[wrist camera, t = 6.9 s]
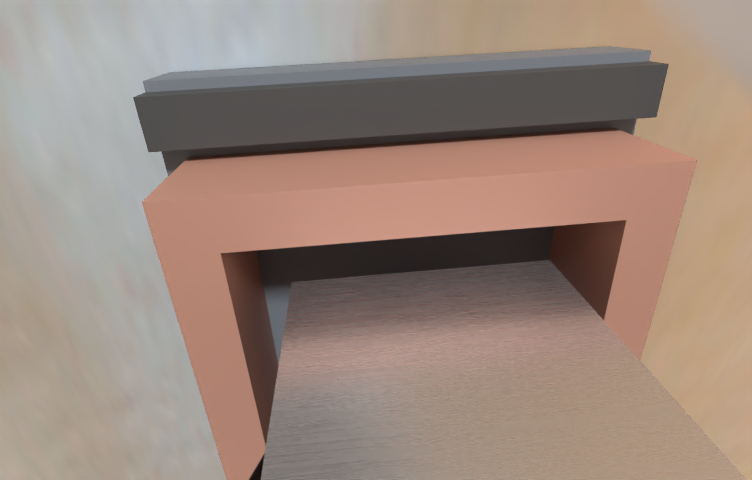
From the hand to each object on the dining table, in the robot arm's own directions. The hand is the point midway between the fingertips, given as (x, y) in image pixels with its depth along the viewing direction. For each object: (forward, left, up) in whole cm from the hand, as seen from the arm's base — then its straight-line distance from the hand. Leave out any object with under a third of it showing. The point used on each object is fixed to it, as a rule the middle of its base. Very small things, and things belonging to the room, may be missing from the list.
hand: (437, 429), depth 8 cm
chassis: (0, 0, -5) cm, 5 cm away
